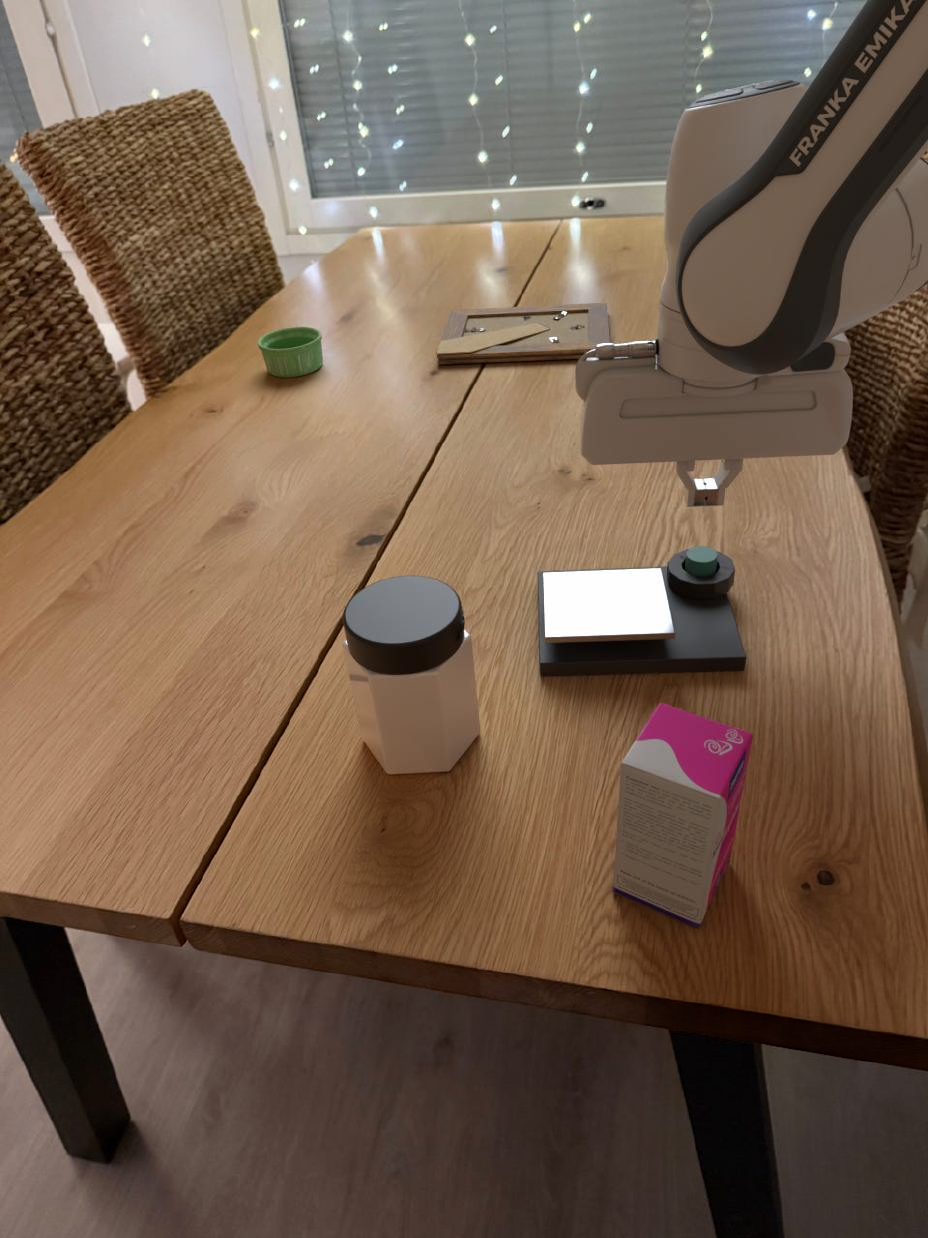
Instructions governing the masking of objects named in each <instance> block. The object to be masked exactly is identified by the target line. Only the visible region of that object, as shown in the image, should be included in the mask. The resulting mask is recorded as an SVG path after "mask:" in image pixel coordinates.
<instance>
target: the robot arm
mask: <svg viewBox="0 0 928 1238" xmlns="http://www.w3.org/2000/svg"><path fill="white" fill-rule="evenodd" d="M927 151H928V0H866V1H865V3H864V4H863V6H862V8H861V9H860V10H859V12H858V14H857V15H856V17H855V18H854V19H853V21H852V22H851V24H850V25H849V27H848V29H847V30H846V31H845V33H844V34H843V36H842V37H841V39H840V40H839V42H838V43H837V44H836V46H835V47H834V49H833V51H832V52H831V53H830V55H829V57H828V58H827V60H826V61H825V62H824V64H823V66H822V67H821V69H820V70H819V72H818V73H817V74H816V76H815V77H814V79H813V81H812V82H811V84H810V85H809V87H807V86H806V85H805V84H803V83H801V82H799V81H795V80H793V79H781V78H780V79H779V78H778V79H777V78H776V79H770V80H763V81H759V82H754V83H749V84H744V85H742V86H737V87H733V88H727V89H723V90H719V91H717V92H712V93H707V94H705V95H702V96H700V97H698V98H697V99H695V100H693V101H692V102H691V103H690V105H688V107H686V108H685V109H684V111H683V112H682V114H681V116H680V118H679V121H678V123H677V126H676V129H675V133H674V136H673V140H672V144H671V149H670V153H669V161H668V167H667V174H666V181H665V194H664V206H663V224H662V236H663V242H664V246H665V251H666V269H665V274H664V277H663V280H662V283H661V286H660V290H659V297H658V298H659V300H658V318H657V319H658V320H657V338H656V339H654V340H653V339H652V340H638V341H637V340H635V341H629V342H624V343H623V342H622V343H614V342H610V343H602V344H598V345H596V349H593V350H591V351H588V352H586V353H585V354H584V355H583V356H582V357H581V358H579V359H577V360H578V361H577V363H576V365H575V369H574V373H575V374H574V377H575V379H574V380H575V383H574V385H575V386H574V387H575V391H576V394H577V396H578V397H579V399H581V401H582V402H581V407H580V417H579V429H578V441H579V442H578V443H579V452H580V455H581V456H582V457H583V459H584V460H585V461H586V462H587V463H588V464H590V465H592V466H606V465H630V464H632V465H633V464H652V463H673V464H674V468H675V473H676V474H677V476H678V477H679V479H680V480H681V482H682V484H683V486H684V495H683V496H684V503H685V506H686V508H696V507H697V508H698V507H720V506H721V507H722V506H724V504H725V496H726V489H728V488H729V486H730V485H732V483H733V482H734V480H735V479H736V478H737V477H738V475H739V474H740V473H741V472H742V470H743V465H744V459H762V458H763V459H766V458H767V459H769V458H789V457H791V458H792V457H793V458H794V457H811V456H814V457H815V456H816V457H817V456H833V455H836V454H837V453H839V451H840V450H841V449H842V448H843V447H844V446H845V445H847V443H848V441H849V438H850V433H851V427H852V418H853V417H852V416H853V404H854V402H853V401H854V390H853V389H854V388H853V382H852V380H851V378H850V376H849V374H848V373H847V371H846V370H845V368H846V367H847V366H848V363H849V361H850V358H851V353H852V347H851V344H850V342H849V339H848V337H847V335H846V334H845V332H846V331H849V330H851V329H852V328H854V327H856V326H858V325H861V324H862V323H864V322H866V321H867V320H869V319H872V318H873V317H875V316H877V315H878V314H880V313H882V312H885V311H886V310H888V309H890V308H891V307H893V306H894V305H897V304H899V303H900V302H902V301H904V300H905V299H907V298H908V297H910V296H911V295H912V294H915V293H916V292H917V291H919V290H920V289H921V288H923V287H924V286H925V285H926V284H928V161H926V160H925V159H924V158H923V155H924V154H925V153H926V152H927ZM593 355H596V357H594V358H589V357H591V356H593ZM718 460H719V461H721V463H722V464H721V466H720V468H719V469H718V470H717V472H716V474H715V475H714V476H713V477H708V478H694V476H693V475H692V473H691V472H694V471H695V468H696V462H698V461H700V462H701V461H718Z"/></svg>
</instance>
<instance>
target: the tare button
mask: <svg viewBox="0 0 928 1238" xmlns="http://www.w3.org/2000/svg"><path fill="white" fill-rule="evenodd" d="M688 549H689V550H688V551H687V553H686V564H685V570H686V572H687V573H689V574H692V575H696V576H710V575H712V574H714V573H715V572H716V568H717V558H718V554H717V552H716V551H717V550H716V549H714V548H712V547H710V546H705V545H696V546H693V547H690V548H688Z"/></svg>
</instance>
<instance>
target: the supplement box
mask: <svg viewBox="0 0 928 1238" xmlns="http://www.w3.org/2000/svg"><path fill="white" fill-rule="evenodd" d="M753 738H754V735H753V733H751V732H749V731H746V730H744V729H741V728H738V727H734V726H732V725H729V724H725V723H722V722H719V721H715V720H712V719H709V718H706V717H704V716H701V715H698V714H695V713H692V712H689V711H687V710H683V709H681V708H677V707H675V706H672V705H669V704H666V703H664V702H660V703H658V705H657V706H656V707H655V709H654V710H653V712H652V713H651V715H650V716H649V718H648V719H647V721H646V723H645V724H644V726H643V727H642V729H641V730H640V732H639V734H638V735H637V737H636V738H635V740H634V742H633V743H632V745H631V746H630V747H629V750H628V752H627V753H626V754H625V755H624V757H623V759H622V761H621V763H620V773H619V774H620V775H619V788H618V789H619V790H618V791H619V793H618V804H617V819H616V822H617V823H616V835H615V851H614V852H615V853H614V868H613V880H612V887H611V891H612V893H614V894H616V895H618V896H620V897H622V898H625V899H627V900H630V901H631V902H634V903H637V904H639V905H641V906H644V907H646V908H648V909H651V910H653V911H655V912H657V913H660V914H663V915H665V916H667V917H669V918H671V919H673V920H676V921H678V922H681V923H682V924H685V925H687V926H690V927H692V928H695V929H699V928H700V927H701V926H702V924H703V921H704V918H705V916H706V913H707V911H708V908H709V906H710V903H711V901H712V899H713V898H714V896H715V893H716V892H717V889H718V886H719V884H720V882H721V880H722V878H723V876H724V874H725V872H726V870H727V868H728V866H729V865H730V862H731V858H732V854H733V853H732V852H733V847H734V843H735V842H734V841H735V838H736V837H735V836H736V829H737V825H738V821H739V820H738V819H739V814H740V808H741V803H742V797H743V792H744V786H745V781H746V776H747V769H748V764H749V760H750V754H751V748H752V743H753Z"/></svg>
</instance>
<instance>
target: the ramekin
mask: <svg viewBox="0 0 928 1238" xmlns="http://www.w3.org/2000/svg"><path fill="white" fill-rule="evenodd" d="M322 339H323V334H322V331H320V330H319V329H318V328H315V327H311V326H290V327H284V328H280V329H276V330H273V331H270V332H268V333H265V334H264V335H262V336H261V337H260V338H259V339H258V341H257V347H258V348H259V350H260V352H261V355H262V358H263V362H264V364H265V368H266V371H267V372H268V373H269V374H270V375H272V376H274V377H278V378H296V377H302V376H305V375H309V374H311V373H314V372H316V371H317V370H319V369H320V368H321V367H322V365H323V363H324V357H323V349H322V348H323V347H322V346H323V345H322Z"/></svg>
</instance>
